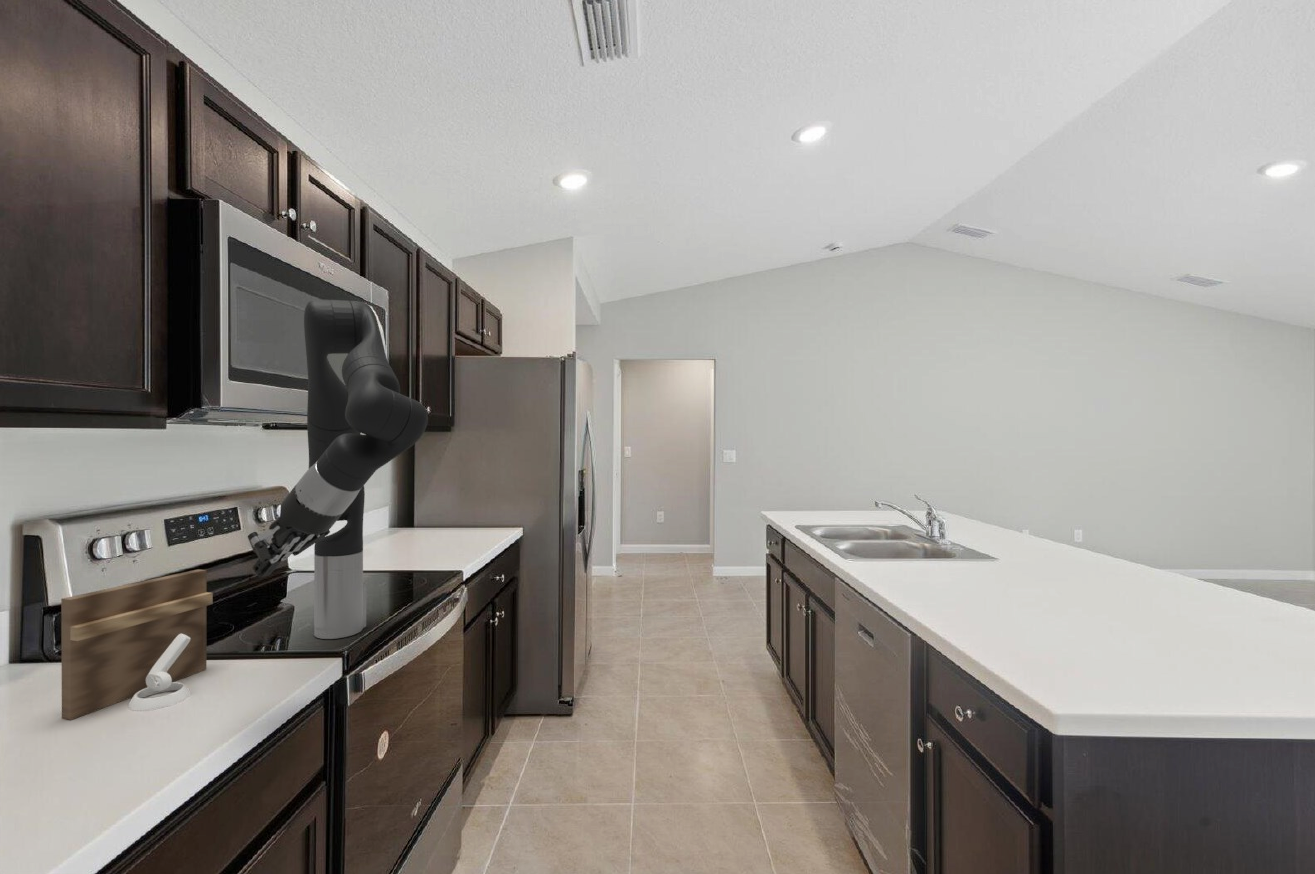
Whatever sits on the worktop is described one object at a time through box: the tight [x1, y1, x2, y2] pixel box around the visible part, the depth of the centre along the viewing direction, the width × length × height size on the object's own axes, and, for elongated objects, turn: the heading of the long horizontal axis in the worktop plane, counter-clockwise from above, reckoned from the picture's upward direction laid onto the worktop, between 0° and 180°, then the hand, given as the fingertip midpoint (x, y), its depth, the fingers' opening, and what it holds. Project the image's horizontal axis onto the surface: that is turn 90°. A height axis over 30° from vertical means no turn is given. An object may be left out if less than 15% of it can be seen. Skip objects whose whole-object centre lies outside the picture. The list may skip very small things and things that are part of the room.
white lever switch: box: [127, 634, 191, 712], centre depth 97 cm, size 8×12×7 cm
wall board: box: [60, 568, 214, 721], centre depth 99 cm, size 20×4×18 cm, turn 163°
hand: (260, 572), depth 91 cm, fingers closed
